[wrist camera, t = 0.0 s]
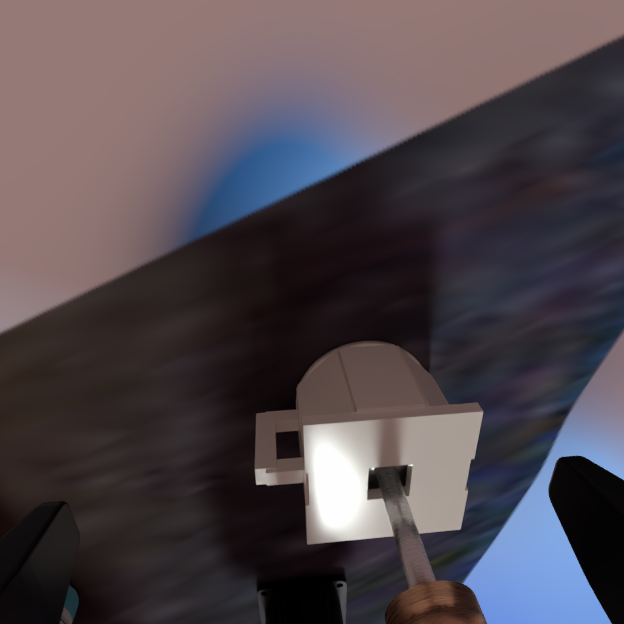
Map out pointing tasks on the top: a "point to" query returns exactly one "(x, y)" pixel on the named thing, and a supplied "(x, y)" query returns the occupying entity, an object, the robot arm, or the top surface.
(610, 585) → the robot arm
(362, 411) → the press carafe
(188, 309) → the top surface
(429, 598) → the plunger
